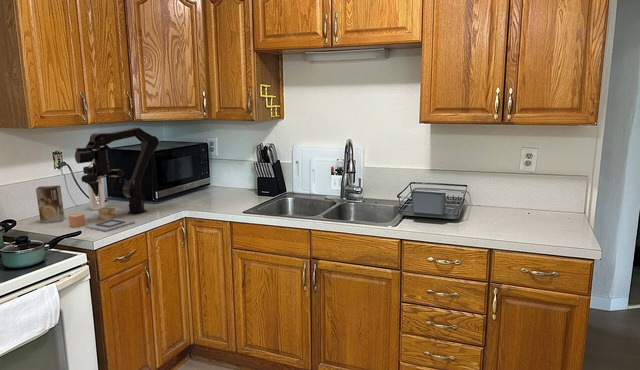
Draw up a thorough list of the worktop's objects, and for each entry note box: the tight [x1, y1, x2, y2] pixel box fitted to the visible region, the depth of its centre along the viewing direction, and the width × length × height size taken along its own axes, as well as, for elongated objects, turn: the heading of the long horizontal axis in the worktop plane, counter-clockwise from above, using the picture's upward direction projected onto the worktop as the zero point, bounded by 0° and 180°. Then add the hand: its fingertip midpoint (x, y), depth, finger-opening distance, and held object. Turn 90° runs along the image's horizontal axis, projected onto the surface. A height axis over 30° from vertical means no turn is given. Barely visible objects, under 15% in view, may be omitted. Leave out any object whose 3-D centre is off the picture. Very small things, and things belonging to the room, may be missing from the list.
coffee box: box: [35, 185, 66, 224], centre depth 219 cm, size 9×6×16 cm
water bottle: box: [86, 160, 106, 211], centre depth 241 cm, size 7×7×25 cm
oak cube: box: [98, 206, 117, 221], centre depth 224 cm, size 5×5×5 cm
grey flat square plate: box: [85, 218, 136, 233], centre depth 211 cm, size 15×13×1 cm
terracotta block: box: [68, 213, 86, 229], centre depth 211 cm, size 4×4×5 cm
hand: (105, 193), depth 222 cm, fingers open, 9 cm apart
